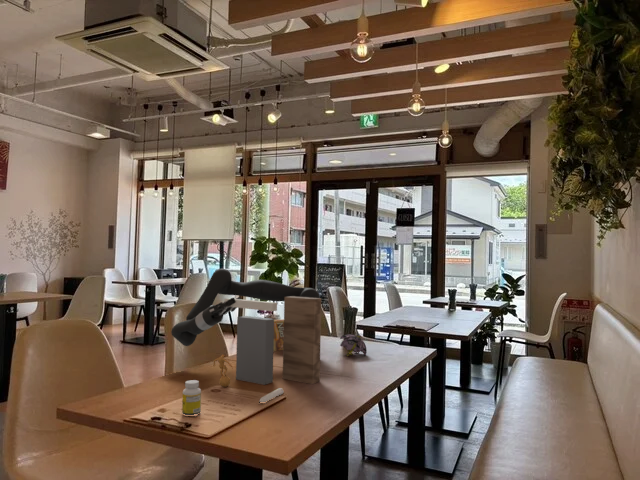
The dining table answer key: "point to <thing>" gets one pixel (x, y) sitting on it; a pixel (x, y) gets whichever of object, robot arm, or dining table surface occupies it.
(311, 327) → the tall wooden block
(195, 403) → the supplement bottle
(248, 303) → the bar
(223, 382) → the figurine
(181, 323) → the robot arm
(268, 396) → the marker
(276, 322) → the candy box
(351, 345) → the decorative flower
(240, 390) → the dining table surface
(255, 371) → the grey rectangular box
